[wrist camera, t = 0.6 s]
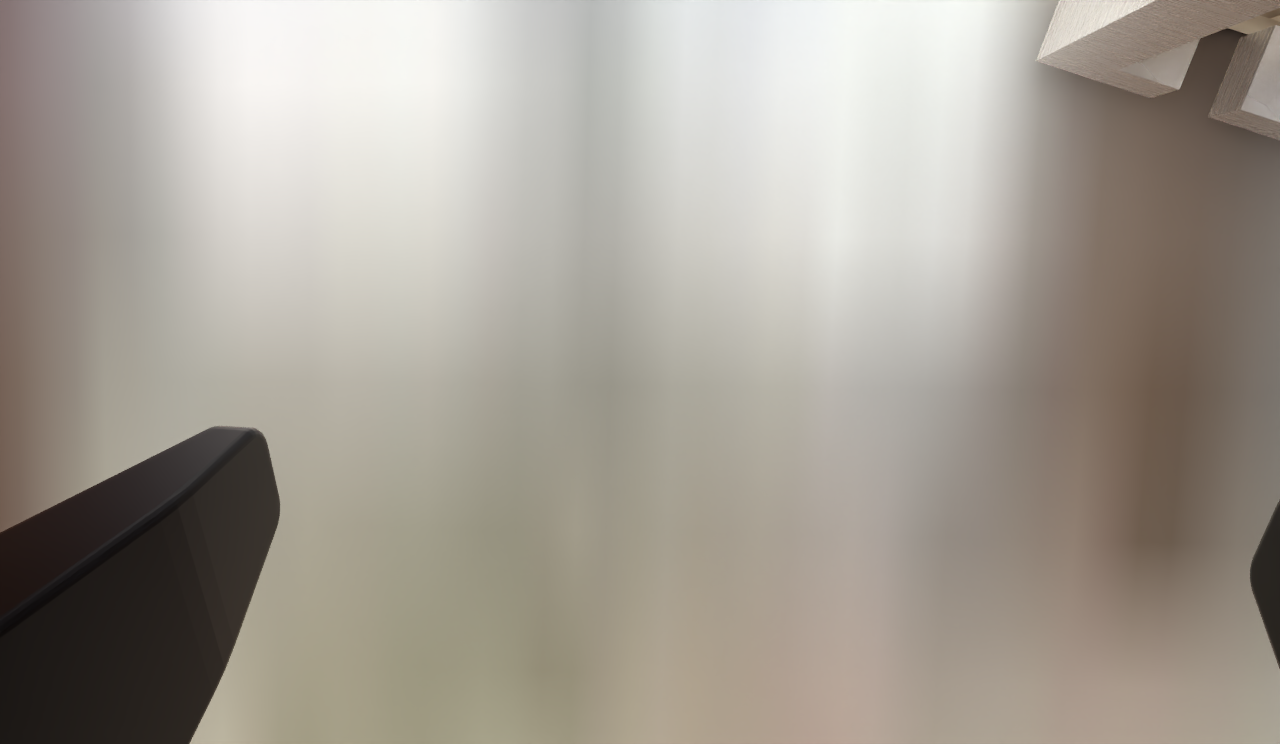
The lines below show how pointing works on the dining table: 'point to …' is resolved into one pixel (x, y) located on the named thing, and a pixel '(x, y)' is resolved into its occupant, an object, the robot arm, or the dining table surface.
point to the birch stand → (1258, 22)
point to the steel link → (1170, 51)
